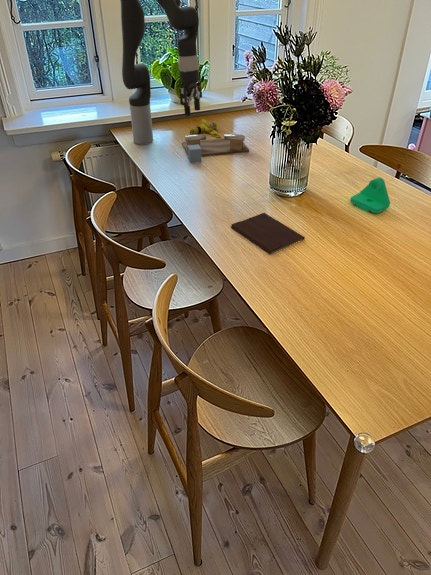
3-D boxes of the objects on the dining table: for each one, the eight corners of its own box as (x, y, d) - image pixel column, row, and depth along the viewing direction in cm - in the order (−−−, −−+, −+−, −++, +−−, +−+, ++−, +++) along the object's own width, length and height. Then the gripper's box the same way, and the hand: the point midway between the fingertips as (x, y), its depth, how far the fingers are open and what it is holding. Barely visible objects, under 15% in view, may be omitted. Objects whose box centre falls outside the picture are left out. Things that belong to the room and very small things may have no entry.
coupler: (187, 158, 196) (187, 145, 192) (198, 157, 197) (198, 144, 193) (190, 163, 192) (189, 149, 189) (201, 162, 193) (201, 148, 190)
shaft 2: (225, 138, 203) (225, 133, 202) (244, 140, 202) (244, 134, 200) (224, 140, 201) (224, 135, 200) (243, 142, 200) (244, 136, 199)
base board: (181, 144, 209) (181, 131, 205) (239, 139, 214) (239, 126, 211) (188, 157, 197) (188, 144, 193) (249, 151, 202) (249, 138, 199)
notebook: (264, 216, 158) (264, 211, 157) (304, 240, 146) (305, 235, 144) (230, 229, 151) (231, 224, 150) (269, 256, 139) (270, 250, 137)
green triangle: (348, 203, 165) (353, 177, 158) (360, 197, 169) (366, 172, 162) (376, 216, 158) (383, 189, 151) (388, 209, 161) (395, 183, 155)
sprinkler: (182, 120, 222) (207, 114, 228) (182, 128, 225) (207, 122, 231) (202, 138, 211) (228, 131, 217) (202, 146, 214) (228, 139, 220)
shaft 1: (185, 140, 201) (185, 135, 200) (204, 138, 203) (204, 133, 202) (186, 142, 200) (186, 137, 198) (205, 140, 201) (205, 135, 200)
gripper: (188, 65, 177) (192, 108, 186) (171, 71, 166) (176, 117, 176) (205, 65, 174) (208, 109, 183) (189, 72, 164) (193, 117, 173)
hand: (192, 112), depth 179 cm, fingers open, 8 cm apart
